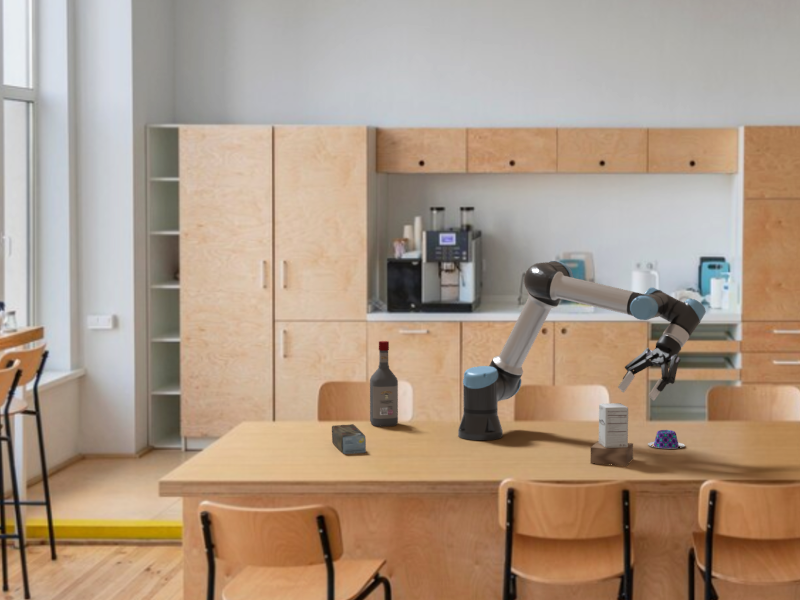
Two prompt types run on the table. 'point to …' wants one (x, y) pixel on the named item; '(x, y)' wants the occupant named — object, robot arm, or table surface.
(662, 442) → the pudding
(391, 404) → the liquor
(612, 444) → the supplement box
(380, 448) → the table surface
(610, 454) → the riser block
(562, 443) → the table surface
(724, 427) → the table surface
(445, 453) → the table surface
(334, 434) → the beverage carton
